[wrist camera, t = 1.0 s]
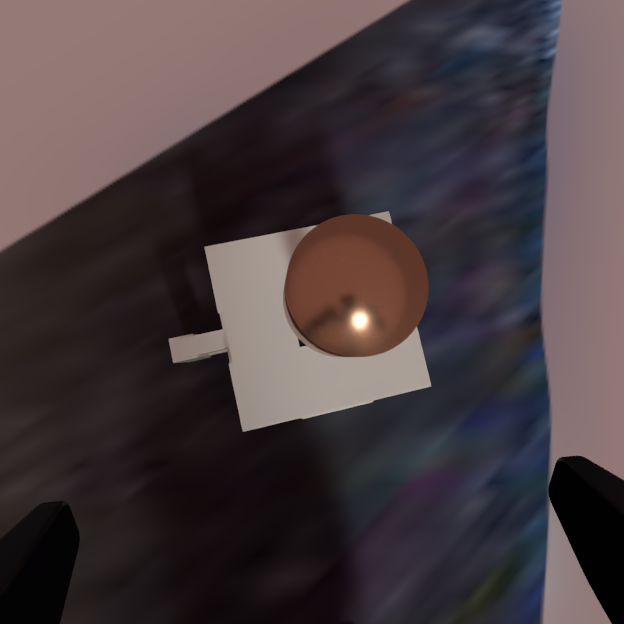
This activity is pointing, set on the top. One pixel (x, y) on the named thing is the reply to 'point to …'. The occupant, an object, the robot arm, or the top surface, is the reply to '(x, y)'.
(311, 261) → the plunger
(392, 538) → the top surface
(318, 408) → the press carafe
